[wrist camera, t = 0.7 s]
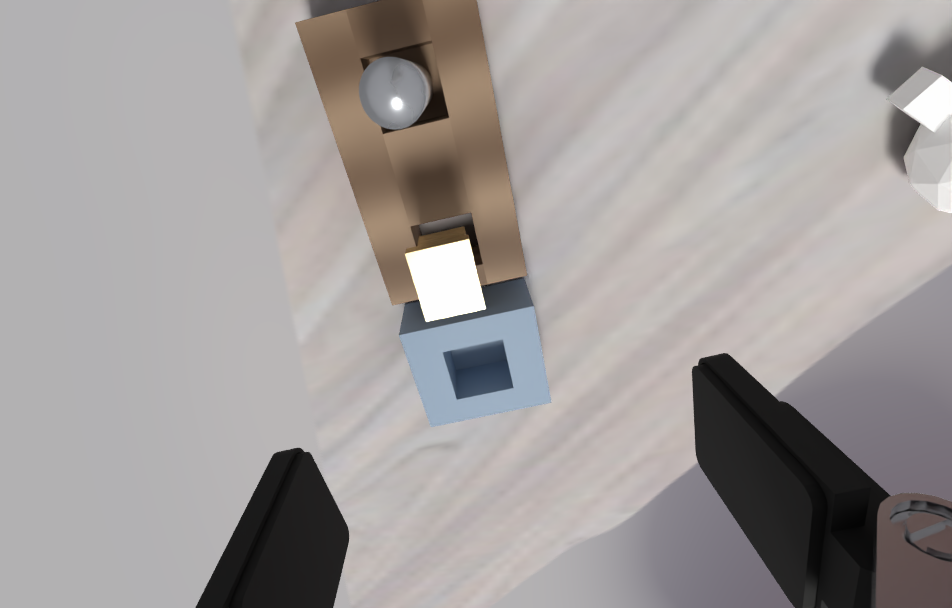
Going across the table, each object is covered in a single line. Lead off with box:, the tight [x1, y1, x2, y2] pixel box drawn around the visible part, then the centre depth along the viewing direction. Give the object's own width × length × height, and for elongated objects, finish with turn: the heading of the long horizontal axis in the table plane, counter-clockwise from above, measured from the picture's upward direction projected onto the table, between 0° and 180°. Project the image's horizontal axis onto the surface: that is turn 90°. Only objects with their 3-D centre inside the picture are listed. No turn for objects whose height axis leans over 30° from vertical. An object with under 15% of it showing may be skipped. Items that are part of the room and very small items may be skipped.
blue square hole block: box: [399, 278, 551, 427], centre depth 37 cm, size 9×10×5 cm
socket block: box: [295, 0, 527, 305], centre depth 31 cm, size 18×10×4 cm, turn 12°
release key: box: [405, 226, 485, 322], centre depth 28 cm, size 4×4×5 cm
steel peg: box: [359, 57, 433, 130], centre depth 25 cm, size 3×3×10 cm
